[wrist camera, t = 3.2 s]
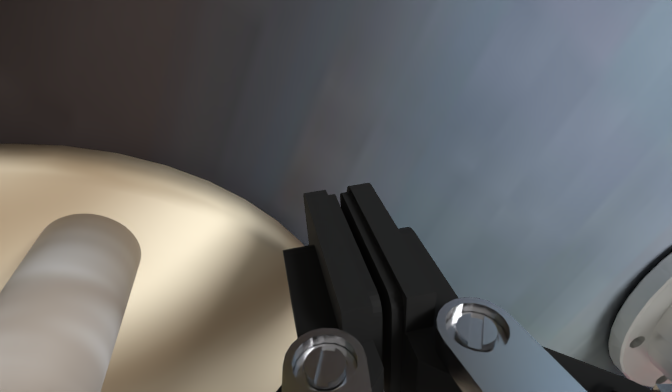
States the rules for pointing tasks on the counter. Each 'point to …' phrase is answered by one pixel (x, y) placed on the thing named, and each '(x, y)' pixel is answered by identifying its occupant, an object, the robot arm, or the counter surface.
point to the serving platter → (135, 278)
